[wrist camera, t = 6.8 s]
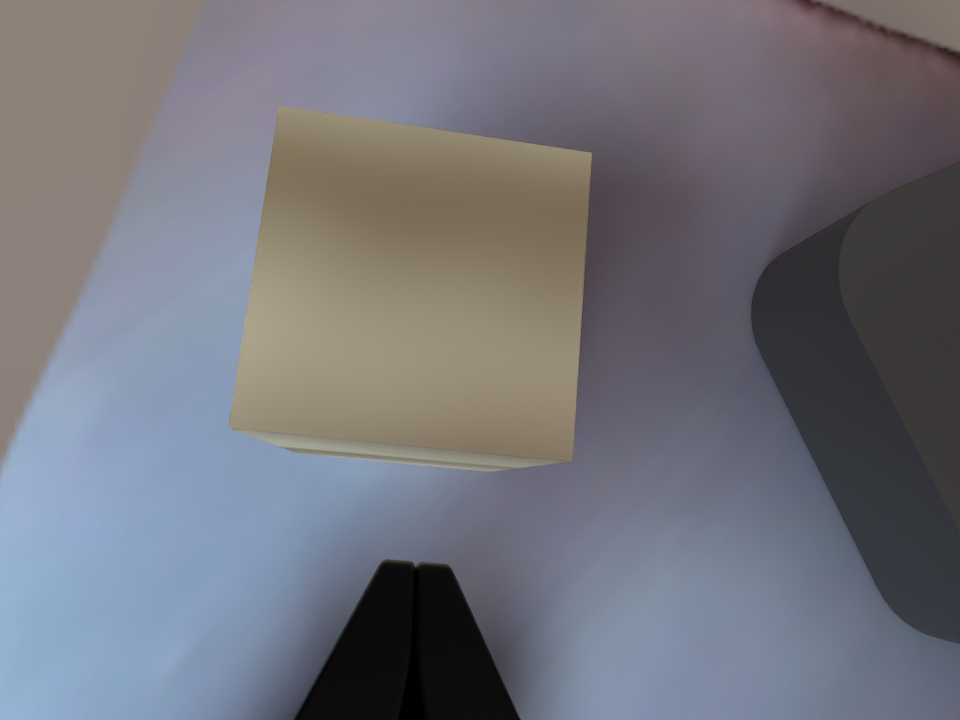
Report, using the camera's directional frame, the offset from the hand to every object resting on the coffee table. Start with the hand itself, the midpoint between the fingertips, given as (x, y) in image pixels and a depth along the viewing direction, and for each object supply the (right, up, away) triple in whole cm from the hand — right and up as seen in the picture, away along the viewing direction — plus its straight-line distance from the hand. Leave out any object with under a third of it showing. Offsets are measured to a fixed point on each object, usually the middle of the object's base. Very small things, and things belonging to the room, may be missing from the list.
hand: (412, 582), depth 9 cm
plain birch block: (-2, +2, +14) cm, 14 cm away
